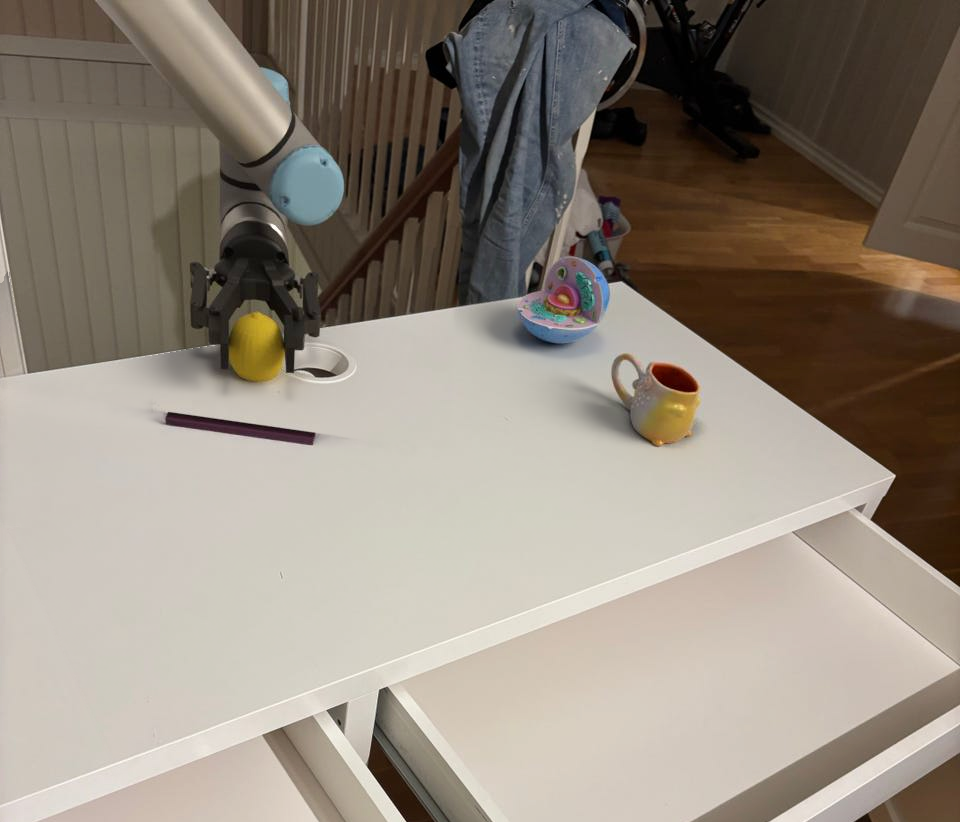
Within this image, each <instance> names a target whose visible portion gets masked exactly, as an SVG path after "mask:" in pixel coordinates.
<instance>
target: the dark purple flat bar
mask: <svg viewBox="0 0 960 822" xmlns="http://www.w3.org/2000/svg"><path fill="white" fill-rule="evenodd" d="M164 419H165V425H167V426H174V427H181V428H189V429H195V430H202V431H211V432H217V433H223V434H231V435H239V436H244V437H245V436H246V437H252V438H260V439H267V440H275V441H281V442H288V443H296V444H303V445H308V446H309V445H311V446H313V445H314V442H315V438H316V432H314V431H307V430H302V429H301V430H300V429H292V428H286V427H279V426H273V425H266V424H259V423H258V424H257V423H250V422H244V421H236V420H231V419H230V420H229V419H224V418H223V419H222V418H217V417H216V418H215V417H207V416H202V415H195V414H187V413H181V412H173V411H168V412H167V413H166V414H165V418H164Z"/></svg>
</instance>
